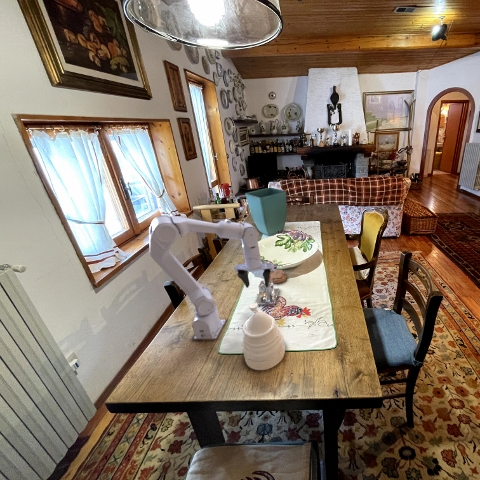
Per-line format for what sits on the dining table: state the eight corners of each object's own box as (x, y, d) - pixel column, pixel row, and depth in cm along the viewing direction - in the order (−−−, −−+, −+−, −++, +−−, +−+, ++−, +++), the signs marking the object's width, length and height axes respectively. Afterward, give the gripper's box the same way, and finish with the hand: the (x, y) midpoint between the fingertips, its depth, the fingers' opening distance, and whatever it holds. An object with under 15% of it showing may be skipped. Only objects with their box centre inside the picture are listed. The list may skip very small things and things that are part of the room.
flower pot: (266, 239, 166) (260, 197, 155) (251, 232, 180) (244, 193, 168) (290, 230, 178) (286, 191, 167) (275, 224, 192) (270, 187, 180)
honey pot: (237, 353, 82) (226, 309, 75) (270, 332, 90) (263, 290, 83) (258, 378, 74) (248, 331, 66) (293, 351, 82) (287, 307, 74)
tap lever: (263, 298, 97) (262, 292, 97) (256, 298, 98) (256, 292, 97) (270, 288, 108) (270, 282, 108) (264, 288, 108) (264, 283, 108)
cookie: (277, 286, 116) (276, 281, 115) (262, 280, 122) (261, 274, 121) (292, 277, 123) (291, 271, 122) (277, 270, 129) (276, 265, 128)
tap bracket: (274, 305, 104) (272, 290, 101) (255, 305, 104) (252, 290, 101) (279, 290, 113) (277, 276, 110) (261, 290, 114) (259, 277, 111)
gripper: (273, 249, 96) (277, 280, 102) (236, 250, 97) (242, 280, 103) (269, 258, 90) (274, 290, 96) (229, 259, 91) (236, 291, 96)
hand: (257, 286), depth 99 cm, fingers open, 7 cm apart
